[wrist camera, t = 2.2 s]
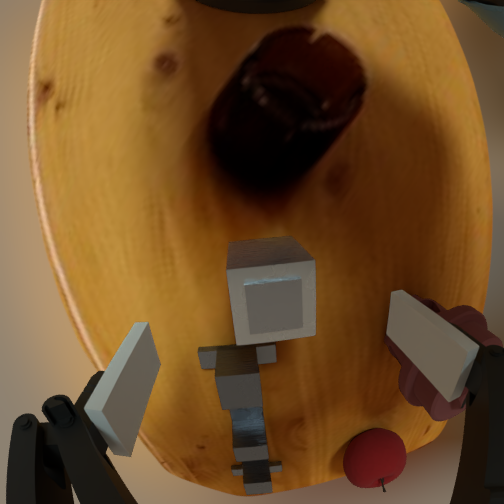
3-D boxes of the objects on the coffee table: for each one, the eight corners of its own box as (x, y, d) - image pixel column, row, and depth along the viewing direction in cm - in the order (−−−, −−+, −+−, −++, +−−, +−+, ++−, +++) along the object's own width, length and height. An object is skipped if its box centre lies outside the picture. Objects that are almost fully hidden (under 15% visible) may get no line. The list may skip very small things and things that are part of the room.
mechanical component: (448, 322, 26) (385, 375, 27) (428, 259, 24) (352, 320, 25) (513, 376, 14) (435, 449, 15) (518, 307, 12) (418, 407, 13)
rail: (198, 347, 24) (192, 378, 20) (274, 340, 24) (281, 370, 20) (233, 471, 30) (234, 495, 26) (281, 467, 31) (285, 490, 26)
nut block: (228, 241, 22) (226, 271, 15) (291, 235, 22) (316, 261, 15) (235, 299, 23) (236, 348, 16) (294, 292, 23) (316, 337, 16)
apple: (402, 426, 31) (429, 471, 21) (357, 459, 32) (376, 505, 22) (374, 411, 29) (404, 466, 19) (323, 449, 30) (341, 504, 20)
